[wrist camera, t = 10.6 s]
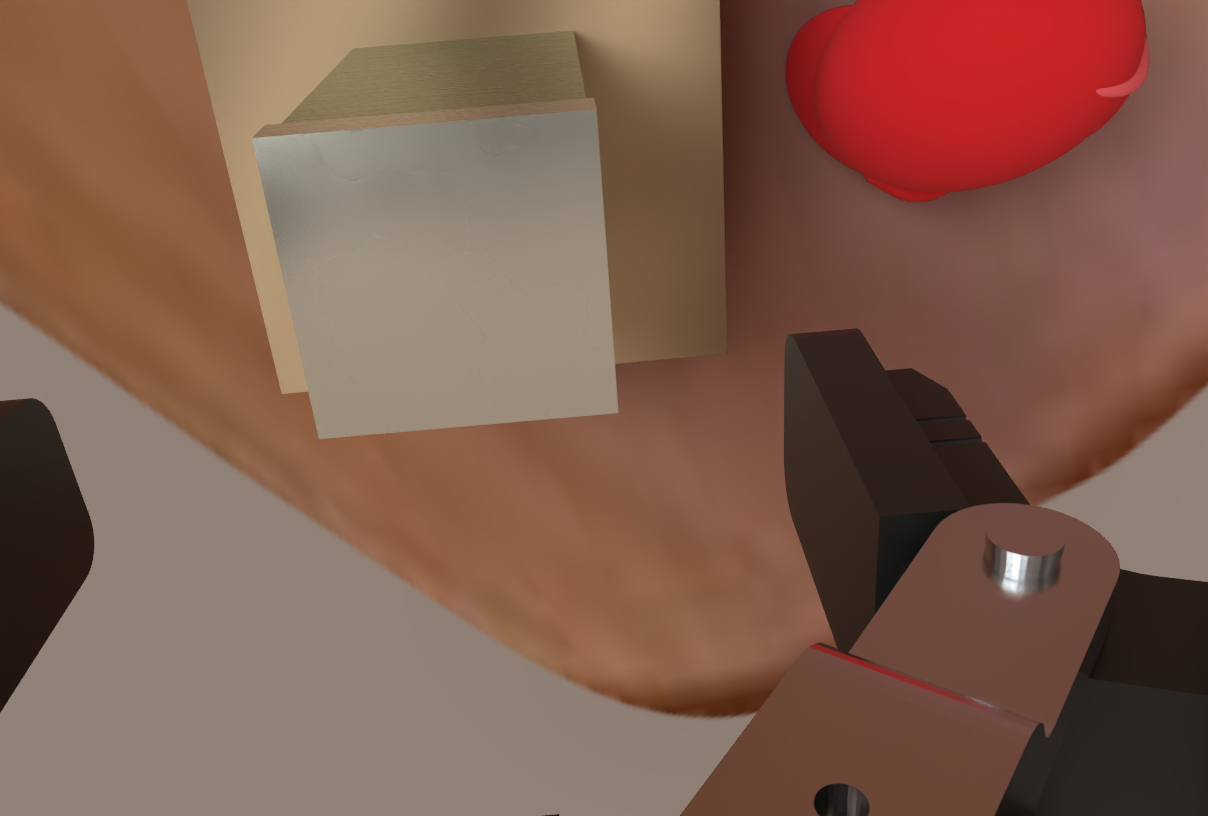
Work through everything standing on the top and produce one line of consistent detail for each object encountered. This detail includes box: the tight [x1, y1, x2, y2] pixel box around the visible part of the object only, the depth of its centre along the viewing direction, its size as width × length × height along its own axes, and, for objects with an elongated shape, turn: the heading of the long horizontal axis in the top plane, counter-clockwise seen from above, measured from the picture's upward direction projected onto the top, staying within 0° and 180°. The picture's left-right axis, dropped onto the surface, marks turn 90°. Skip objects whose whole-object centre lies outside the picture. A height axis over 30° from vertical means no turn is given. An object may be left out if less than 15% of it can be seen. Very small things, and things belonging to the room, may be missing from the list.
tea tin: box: [252, 31, 618, 439], centre depth 19 cm, size 5×5×8 cm
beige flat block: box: [187, 0, 727, 394], centre depth 25 cm, size 11×11×5 cm
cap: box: [786, 0, 1149, 202], centre depth 25 cm, size 8×6×6 cm
